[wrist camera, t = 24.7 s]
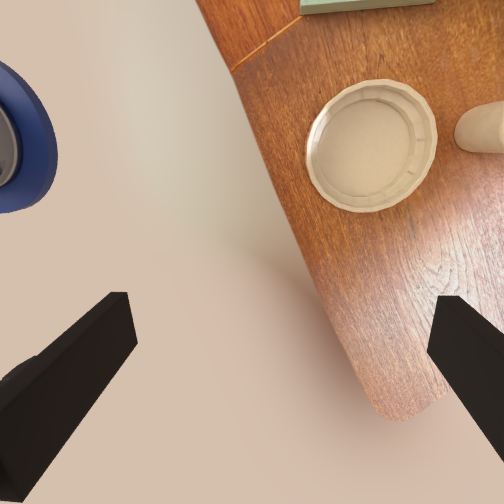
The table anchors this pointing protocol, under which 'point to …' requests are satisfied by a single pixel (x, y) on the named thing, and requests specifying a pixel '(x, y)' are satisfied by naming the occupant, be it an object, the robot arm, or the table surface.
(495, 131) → the candle
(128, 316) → the robot arm
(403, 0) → the tray
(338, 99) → the bowl
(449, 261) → the table surface
